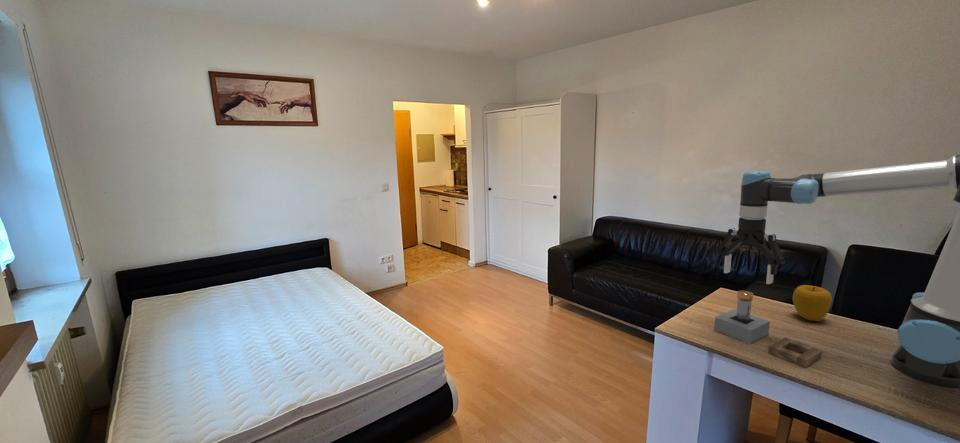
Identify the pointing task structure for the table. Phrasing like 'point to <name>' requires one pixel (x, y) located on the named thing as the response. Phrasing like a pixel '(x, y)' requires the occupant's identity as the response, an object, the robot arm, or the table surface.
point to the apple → (812, 302)
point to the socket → (742, 327)
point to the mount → (803, 359)
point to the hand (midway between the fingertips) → (747, 277)
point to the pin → (744, 306)
